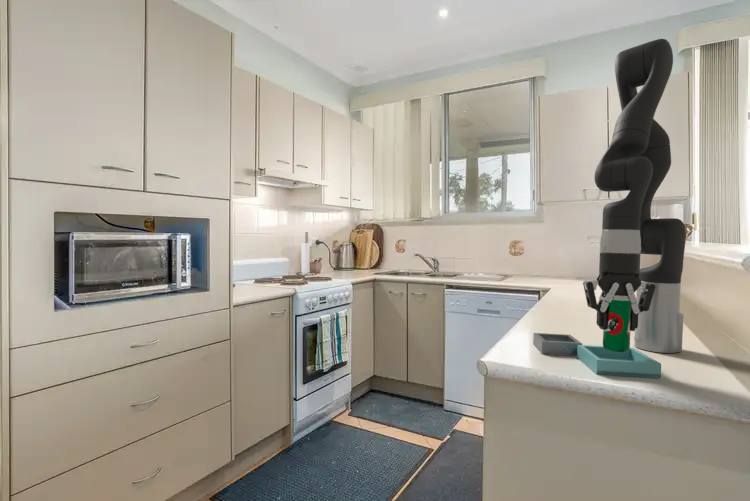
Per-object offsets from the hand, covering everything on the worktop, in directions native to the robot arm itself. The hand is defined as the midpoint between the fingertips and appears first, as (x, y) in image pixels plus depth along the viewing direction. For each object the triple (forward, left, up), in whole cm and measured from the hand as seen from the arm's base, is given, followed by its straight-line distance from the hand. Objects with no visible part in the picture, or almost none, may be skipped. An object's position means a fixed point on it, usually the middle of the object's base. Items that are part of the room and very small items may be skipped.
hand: (616, 329), depth 89 cm
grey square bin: (+9, -12, -8) cm, 17 cm away
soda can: (0, 0, -5) cm, 5 cm away
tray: (0, 0, -8) cm, 8 cm away
